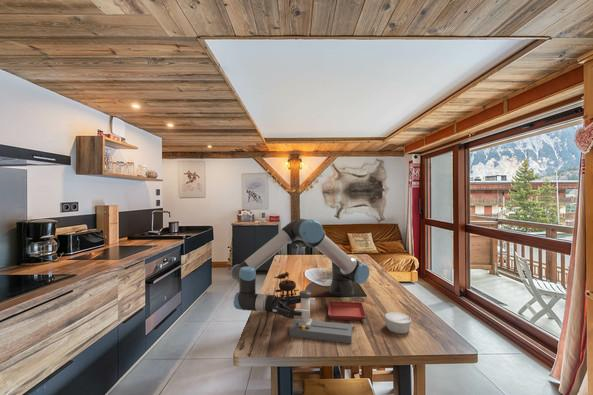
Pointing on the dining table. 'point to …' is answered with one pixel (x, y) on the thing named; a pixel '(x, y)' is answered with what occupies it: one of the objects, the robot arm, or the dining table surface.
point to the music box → (286, 287)
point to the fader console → (323, 331)
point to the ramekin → (398, 322)
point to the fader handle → (305, 308)
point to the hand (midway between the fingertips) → (312, 307)
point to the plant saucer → (346, 311)
